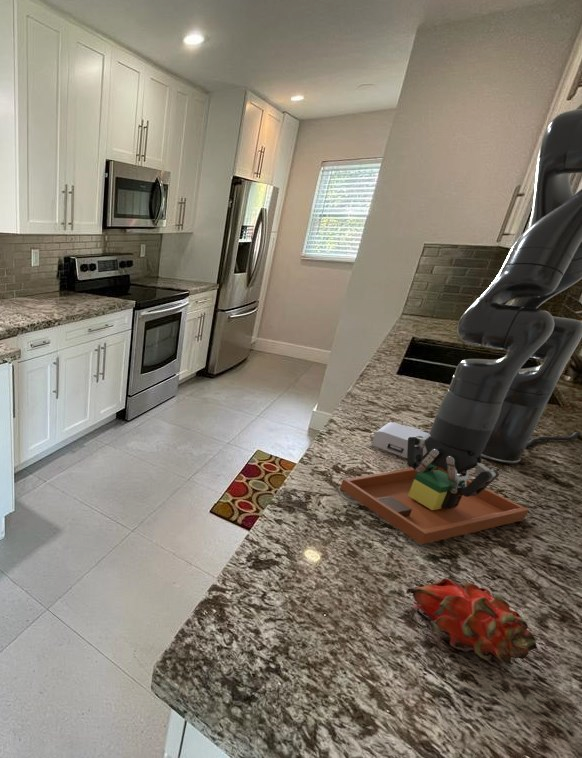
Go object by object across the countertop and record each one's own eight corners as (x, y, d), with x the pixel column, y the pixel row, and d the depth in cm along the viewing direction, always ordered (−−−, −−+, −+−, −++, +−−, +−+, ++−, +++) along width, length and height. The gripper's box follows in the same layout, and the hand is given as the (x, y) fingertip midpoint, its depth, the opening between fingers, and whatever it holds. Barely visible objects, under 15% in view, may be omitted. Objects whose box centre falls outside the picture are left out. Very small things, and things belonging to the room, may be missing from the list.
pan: (432, 474, 88) (436, 463, 87) (522, 522, 74) (529, 509, 74) (339, 491, 82) (342, 479, 81) (419, 547, 68) (425, 533, 67)
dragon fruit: (527, 692, 48) (399, 632, 57) (536, 621, 51) (413, 575, 60) (541, 676, 43) (398, 613, 52) (550, 599, 46) (414, 552, 55)
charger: (435, 445, 101) (416, 464, 92) (391, 430, 108) (370, 447, 99) (442, 428, 99) (424, 445, 90) (397, 414, 106) (376, 429, 97)
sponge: (430, 491, 81) (439, 469, 79) (455, 505, 77) (465, 483, 75) (407, 495, 79) (416, 473, 77) (432, 510, 75) (441, 487, 73)
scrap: (388, 502, 78) (390, 495, 77) (409, 516, 74) (412, 509, 74) (372, 505, 77) (374, 498, 76) (393, 519, 73) (395, 512, 72)
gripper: (531, 435, 66) (489, 521, 72) (437, 400, 79) (408, 475, 85) (499, 440, 64) (459, 528, 70) (408, 404, 77) (381, 480, 83)
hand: (431, 498), depth 78 cm, fingers closed on sponge, 4 cm apart
